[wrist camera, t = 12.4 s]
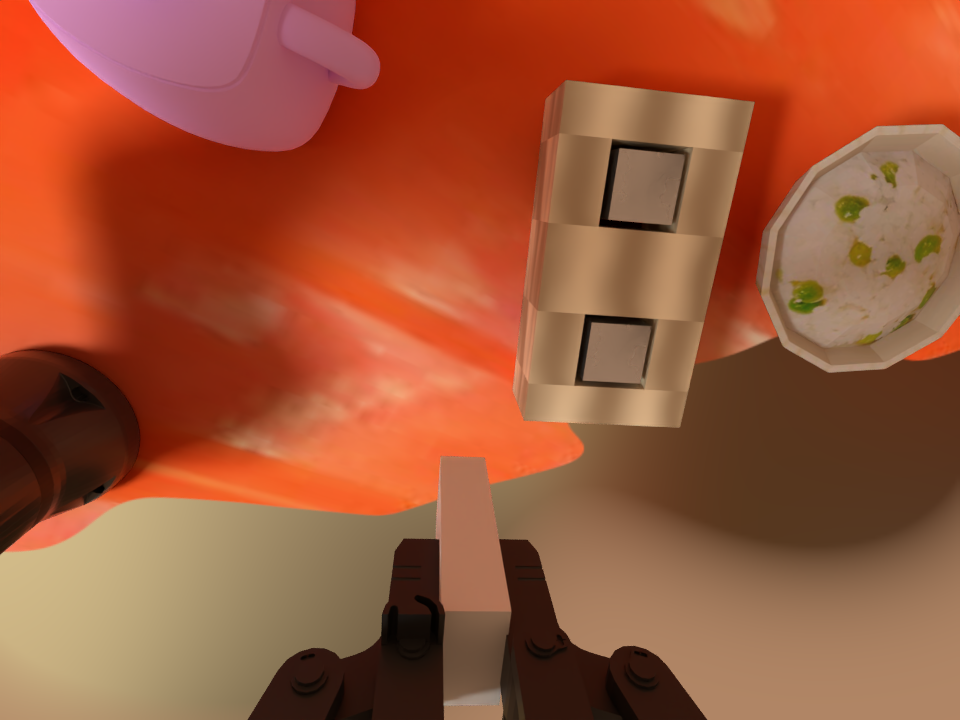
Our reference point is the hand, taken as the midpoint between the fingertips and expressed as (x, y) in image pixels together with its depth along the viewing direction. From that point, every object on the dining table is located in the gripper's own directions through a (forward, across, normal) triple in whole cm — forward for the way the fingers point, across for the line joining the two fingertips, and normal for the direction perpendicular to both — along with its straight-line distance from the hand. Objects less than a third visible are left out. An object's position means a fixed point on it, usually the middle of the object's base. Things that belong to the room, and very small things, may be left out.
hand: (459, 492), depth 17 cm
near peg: (+30, +14, +12) cm, 35 cm away
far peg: (+30, +14, -2) cm, 33 cm away
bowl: (+31, +33, +8) cm, 46 cm away
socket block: (+30, +14, +5) cm, 34 cm away
